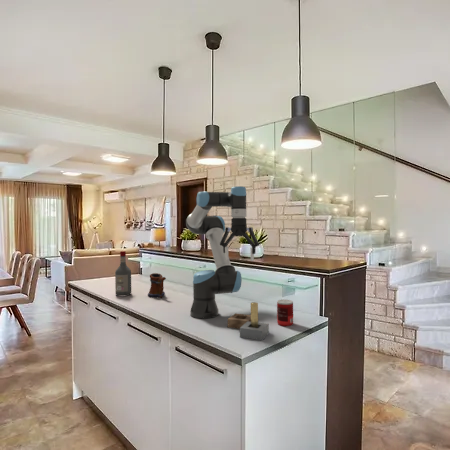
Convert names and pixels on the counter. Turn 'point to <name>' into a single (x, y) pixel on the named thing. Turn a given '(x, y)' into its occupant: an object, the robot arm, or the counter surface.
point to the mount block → (238, 320)
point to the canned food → (285, 312)
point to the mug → (156, 286)
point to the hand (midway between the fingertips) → (239, 260)
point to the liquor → (123, 277)
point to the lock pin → (254, 315)
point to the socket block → (254, 331)
